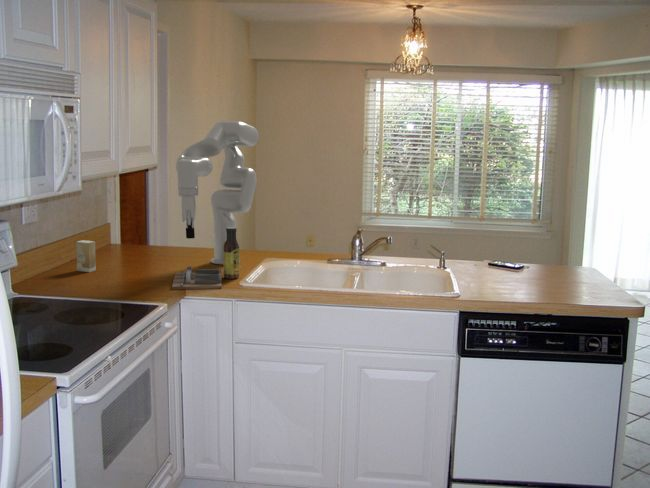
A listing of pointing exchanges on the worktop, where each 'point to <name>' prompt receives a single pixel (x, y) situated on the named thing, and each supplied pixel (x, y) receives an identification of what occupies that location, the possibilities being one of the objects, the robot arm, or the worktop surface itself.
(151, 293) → the worktop surface
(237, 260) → the sauce bottle
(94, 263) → the skincare box
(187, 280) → the gate
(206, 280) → the board
